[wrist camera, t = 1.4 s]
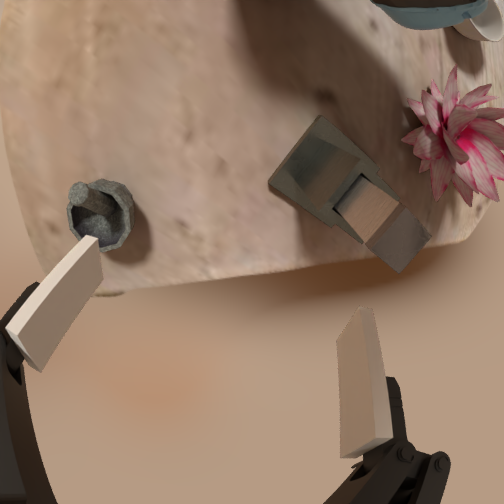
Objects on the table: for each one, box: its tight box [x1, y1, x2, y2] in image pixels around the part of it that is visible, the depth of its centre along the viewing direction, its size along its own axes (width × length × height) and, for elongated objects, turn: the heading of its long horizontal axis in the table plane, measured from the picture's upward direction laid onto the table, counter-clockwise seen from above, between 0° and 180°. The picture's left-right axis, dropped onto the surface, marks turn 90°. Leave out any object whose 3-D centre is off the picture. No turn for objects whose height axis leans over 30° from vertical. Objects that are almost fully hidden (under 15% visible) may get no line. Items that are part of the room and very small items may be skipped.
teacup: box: [453, 0, 504, 42], centre depth 21 cm, size 14×11×8 cm
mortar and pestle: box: [67, 179, 135, 252], centre depth 34 cm, size 11×9×12 cm
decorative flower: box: [401, 64, 504, 207], centre depth 30 cm, size 21×21×15 cm
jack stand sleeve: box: [268, 115, 400, 244], centre depth 34 cm, size 12×12×13 cm
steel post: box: [334, 175, 432, 274], centre depth 30 cm, size 4×4×20 cm
